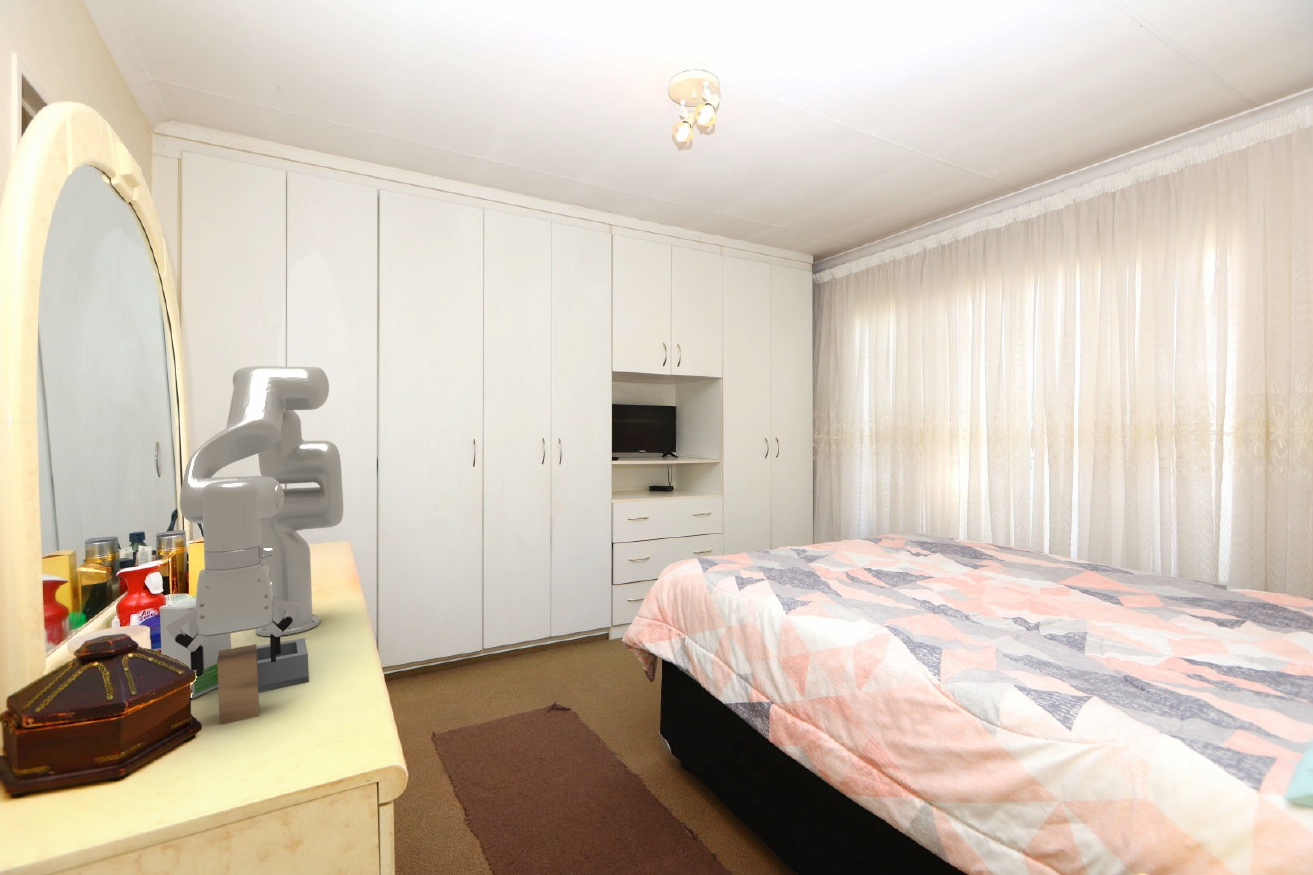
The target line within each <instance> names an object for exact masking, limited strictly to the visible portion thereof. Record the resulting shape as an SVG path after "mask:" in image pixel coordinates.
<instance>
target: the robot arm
mask: <svg viewBox="0 0 1313 875" xmlns="http://www.w3.org/2000/svg"><path fill="white" fill-rule="evenodd" d="M232 384H233V385H232V386H233V391H232V394H231V395H232V396H231V402H230V407H229V412H228V417H227V421H226V427H225V428H224V429H223V430H221V431H219V432H218V433H216V434H214V435H213V436H211V437H210V438H209V439H208V440H206V441H205V442H204V443H203V444H202V445H200V446H199V447H198V449H196V451H194V452H193V454H192V455H191V456H190V458H189V459H188V463H186V466H185V471H184V475H183V480H182V484H181V489H180V494H179V509H180V512H181V515H182V516H183V518H185V519H186V520H187V521H188V522H190V523H193V524H199V525H200V524H202V528H203V529H202V531H203V558H204V559H203V560H204V569H200V570H199V573H198V578H197V584H196V594H195V595H196V596H195V597H196V608H195V609H193V610H191V611H189V612H188V613H186V614H184V615H182V616H180V617H179V618H177V619H175V620H173V621H172V622H170V623H168V625H167V627H166V629H167V631H168V632H169V633H170V634H171V636H172V637H173V638H174V639H175V641H176V642H177V643H178V644H180V645H182V646H183V647H185V648H187V649H188V651H190V655H191V670H196V675H197V677H199V676H201V675H203V671H204V658H203V646H202V645H201V643H202V642H203V641H204V640H205V639H206V638H207V636H216V635H222V634H228V633H231V634H233V633H239V632H245V631H246V632H247V631H250V630H252V631H253V630H255V633H256V634H257V635H259V636H262V637H269V644H270V650H271V662H276V655H279V654H281V644H280V642H281V636H287V635H294V634H298V633H302V632H305V631H308V630H310V629H311V630H312V629H313V628H315V627H317V626H318V625H320V624H321V617H320V615H318V614H313V598H312V597H313V596H312V569H311V568H312V567H311V549H310V545H309V544H308V542H307V541H306V540H305V539H304V538H303V536H301V535H300V534H299V533H298V531H303V530H314V529H316V530H317V529H326V528H328V529H329V528H333V527H336V526H338V525H340V524H341V522H342V520H343V517H344V495H343V494H344V493H343V478H342V476H343V475H342V462H341V454H340V452H339V449H338V447H337V445H336V444H335V443H334V442H331V441H330V440H329V441H328V440H304V439H303V437H302V436H303V434H302V420H301V418H300V415H298V413H297V412H296V411H312V410H313V411H314V410H318V409H319V408H321V407H323V405H325V403H326V402H327V400H328V397H329V392H330V384H329V379H328V376H327V374H326V372H325V370H323V368H321V367H315V366H281V365H280V366H277V365H270V366H269V365H268V366H267V365H261V366H259V365H258V366H247V367H242V368H239V369H237V370H236V371H235V372H234V373H233V375H232ZM256 454H257V456H258V465H259V466H258V468H259V471H260V475H253V476H252V475H250V476H225V477H223V476H222V477H220V476H219V477H213V476H214V475H215V474H216V473H217V472H218V471H220V470H221V469H223V468H225V467H227V466H229V465H230V464H233V463H235V462H237V461H241V460H244V459H246V458H249V457H252V456H254V455H256ZM310 483H311V484H312V483H315V484H317V485H318V486H316V487H315V486H313V487H293V488H292V487H290V488H283V486H282V485H284V484H285V485H287V484H289V485H290V484H310ZM195 618H196V631H197V634H196V635H195V636H194V637H193V638H192V637H191V636H189V635H187V634H186V633H184V632H183V631H182V629H181V626H183V625H185V624H187V623H188V622H190V621H192V620H193V619H195Z"/></svg>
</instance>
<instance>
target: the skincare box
mask: <svg viewBox="0 0 1313 875" xmlns="http://www.w3.org/2000/svg"><path fill="white" fill-rule="evenodd" d="M158 608H159V609H158V610H159V616H160V617H159V618H160V619H159V620H160V621H159V622H160V623H159V624H160V645H161V646H160V647H161V648H160V650H161V651H160V652H161V655H162V654H163V655H167V656H169V657H171V658H173V659H177V660H179V661H180V662H182V663H184V664H186V665H187V666H188V667H189V668H191V655H190V651H188V649H187V648H185V647H183V646H182V645H180V644H178V643H177V642H176V641H175V639H174V638H173V637H172V636H171V634H170V633H169V632H168V631H167V629H166V627H167V625H168V623H170V622H172V621H173V620H175V619H177V618H179V617H180V616H182V615H184V614H186V613H188V612H189V611H191V610H193V609H195V608H196V596H195V597H192V598H187V599H183V600H179V601H176V602H174V603H173V602H172V603H169V604H165V605H161V606H159V607H158ZM181 629H182V631H183V632H184V633H186V634H187V635H189V636H191V637H192V638H193V637H194V636H195V635H196V634H197V631H196V618H195V619H193V620H192V621H190V622H188V623H187V624H185V625H183V626H181ZM231 634H232V633H228V634H222V635H216V636H207V638H206V639H205V640H204V641H203V642H202V643H201V645H202V646H203V658H204V671H203V675H201V676H199V677H197V678H196V681H195V682H193V684H192V685H191V689H192V693H193V694H192V699H191V700H193V699H195V698H198V697H200V696H202V695H205V694H206V693H209V692H211V691H213V690H215V689H218V667H217V659H218V655H219V651H221V650H227V649H232V636H231ZM193 671H194V672H195V673H196V670H193ZM196 676H197V675H196Z"/></svg>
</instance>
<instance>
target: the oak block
mask: <svg viewBox="0 0 1313 875" xmlns="http://www.w3.org/2000/svg"><path fill="white" fill-rule="evenodd" d="M217 667H218V688H217V689H218V690H217V691H218V709H219V712H218V713H219V725H220V726H222V725H226V724H230V723H234V722H239V721H243V720H248V719H252V718H256V717H259V716H260V715H259V714H260V710H259V709H260V702H259V700H260V699H259V698H260V696H259V692H258V670H257V643H256V644H250V645H244V646H239V647H234V648H233V647H231V649H227V650H221V651H219V655H218V659H217Z"/></svg>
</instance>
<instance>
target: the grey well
mask: <svg viewBox="0 0 1313 875" xmlns="http://www.w3.org/2000/svg"><path fill="white" fill-rule="evenodd" d="M280 644H281V654H279V655H276V662H271V650H270V643H268V644H262V645H258V646H257V645H256V646H257V670H258V693H261V692H266V691H270V690H275V689H279V688H280V689H281V688H284V687H285V688H286V687H289V686H293V685H299V684H303V683H308V682H310V675H309V674H310V673H309V653H308V647H307V642H306V637H301V638H297V639H291V640H285V641H280Z"/></svg>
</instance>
